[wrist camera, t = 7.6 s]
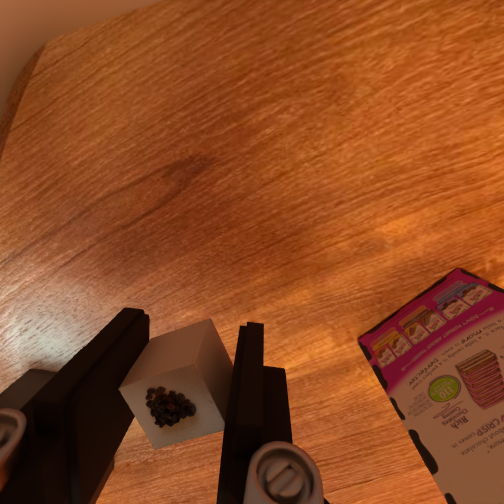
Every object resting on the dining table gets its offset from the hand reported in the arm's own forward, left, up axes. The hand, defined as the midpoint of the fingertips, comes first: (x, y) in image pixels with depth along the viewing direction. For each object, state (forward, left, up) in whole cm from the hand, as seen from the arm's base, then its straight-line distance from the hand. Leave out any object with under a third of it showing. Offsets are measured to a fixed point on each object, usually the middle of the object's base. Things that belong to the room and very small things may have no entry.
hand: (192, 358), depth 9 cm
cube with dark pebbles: (0, 0, 0) cm, 0 cm away
